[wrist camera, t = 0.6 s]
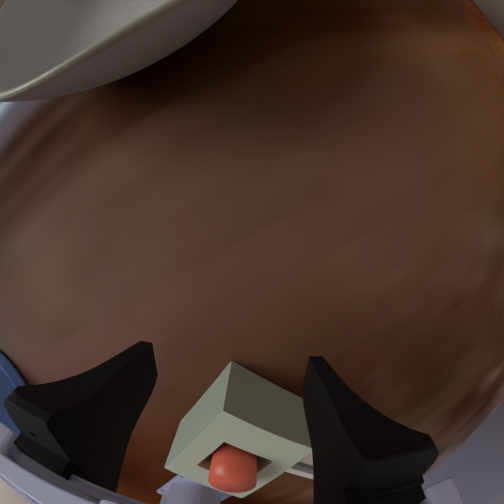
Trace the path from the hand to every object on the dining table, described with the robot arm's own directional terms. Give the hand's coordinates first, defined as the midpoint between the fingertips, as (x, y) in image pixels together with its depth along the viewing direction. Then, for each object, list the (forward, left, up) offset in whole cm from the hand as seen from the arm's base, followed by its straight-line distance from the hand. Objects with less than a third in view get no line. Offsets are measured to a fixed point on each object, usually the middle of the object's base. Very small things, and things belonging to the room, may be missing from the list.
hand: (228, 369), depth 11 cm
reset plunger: (-10, -6, -5) cm, 13 cm away
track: (-10, -17, -10) cm, 22 cm away
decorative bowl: (+17, +24, -11) cm, 31 cm away
